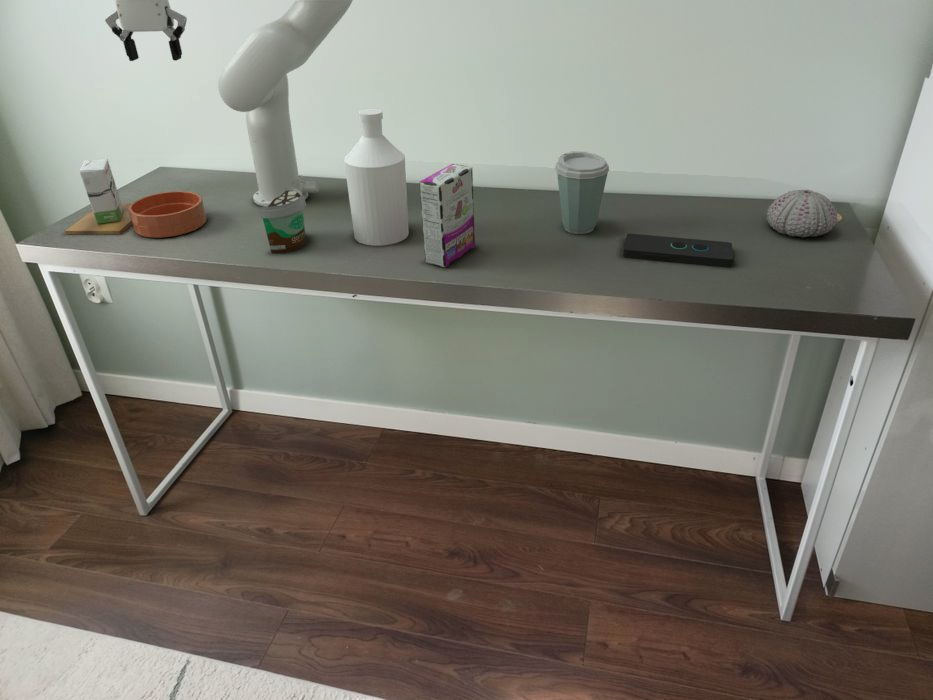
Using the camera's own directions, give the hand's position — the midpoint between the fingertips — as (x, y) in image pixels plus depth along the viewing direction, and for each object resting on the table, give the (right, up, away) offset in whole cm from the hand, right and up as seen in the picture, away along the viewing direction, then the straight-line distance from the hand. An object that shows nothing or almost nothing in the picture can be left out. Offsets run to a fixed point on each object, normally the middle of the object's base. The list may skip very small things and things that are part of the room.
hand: (155, 59), depth 153 cm
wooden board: (-11, -35, +3) cm, 36 cm away
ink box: (-11, -34, +2) cm, 36 cm away
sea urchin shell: (+136, -39, -9) cm, 142 cm away
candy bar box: (+65, -45, -16) cm, 81 cm away
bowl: (+4, -36, -1) cm, 37 cm away
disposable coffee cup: (+91, -38, -7) cm, 99 cm away
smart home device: (+109, -45, -18) cm, 119 cm away
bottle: (+50, -40, -7) cm, 64 cm away
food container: (+33, -42, -10) cm, 55 cm away
